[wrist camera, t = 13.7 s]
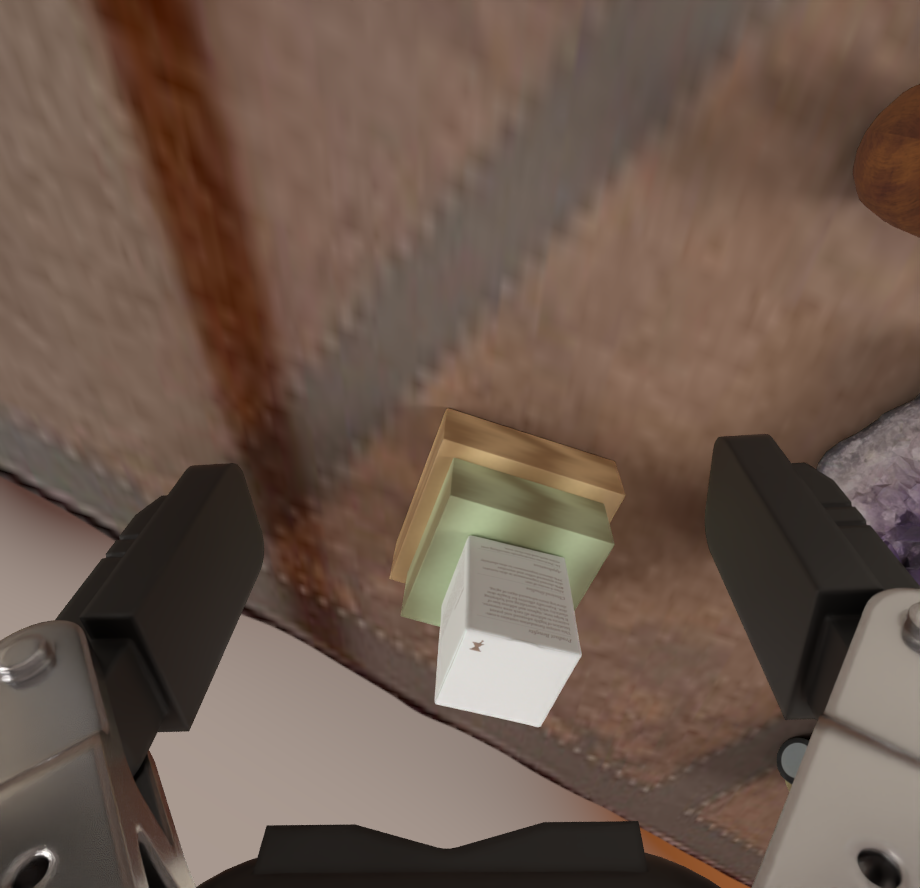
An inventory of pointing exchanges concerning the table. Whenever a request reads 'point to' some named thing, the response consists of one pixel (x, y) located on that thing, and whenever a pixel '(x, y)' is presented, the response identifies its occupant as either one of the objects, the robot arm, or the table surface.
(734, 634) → the table surface
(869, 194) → the wooden figurine
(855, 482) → the geode
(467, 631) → the product box
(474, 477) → the block stack
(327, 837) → the robot arm
